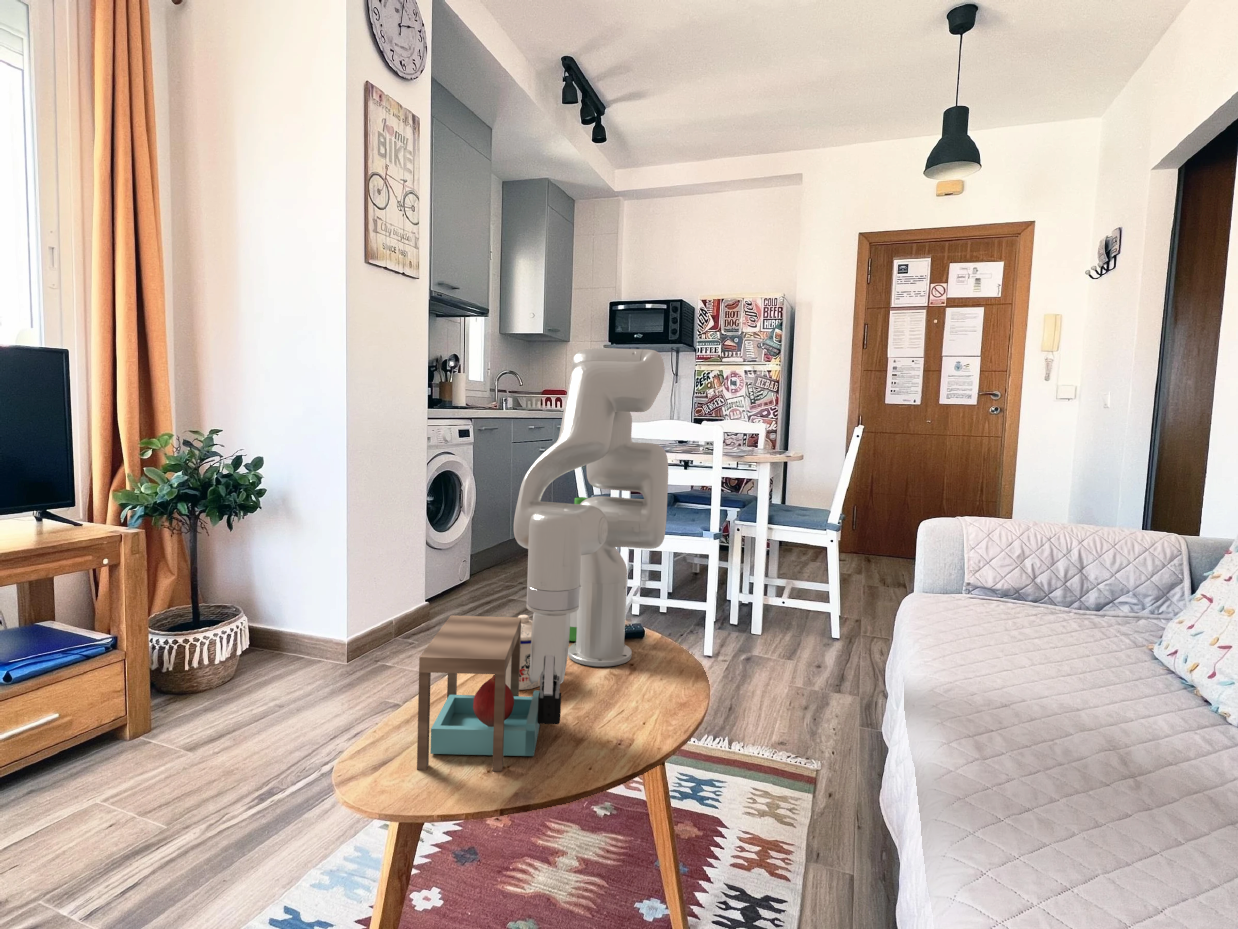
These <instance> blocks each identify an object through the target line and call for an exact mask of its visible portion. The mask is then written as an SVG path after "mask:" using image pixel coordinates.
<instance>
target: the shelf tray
mask: <svg viewBox="0 0 1238 929" xmlns="http://www.w3.org/2000/svg"><path fill="white" fill-rule="evenodd" d="M539 692H540V690H537V689H536V690H535V689H534V690H533V692H532V693H533V694H532V696H520V695H519V696H514V706H513V710H512V713H511V714H510V716H509V717H508V718H507V719H506V720H505V721H504V748H503V756H513V757H514V756H517V757H520V756H521V757H534V756H535V752H536V747H537V740H538V738H539V737H538V736H539V732H540V726H541V724H539V723H538V696H539ZM474 697H475V694H474V695H473V694H471V695H470V694H457V695H449V697H448V698H447V697H446V701H445V702H444V704H443V705H442V708H441V709H440V712H439V713H438V715H437V717H436V719H435V720H434V722H433V724H432V726H431V728H430V752H429V755H430V754H432V755H434V754H435V755H469V756H470V755H472V756H473V755H475V756H476V755H477V756H493V734H494V727H488V726H487V725H485V724H484V723H482V722H481V721H480V720H479V719H478V718H477V716H476V715H475V713H474V709H473V702H474Z"/></svg>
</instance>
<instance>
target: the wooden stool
mask: <svg viewBox="0 0 1238 929" xmlns="http://www.w3.org/2000/svg"><path fill="white" fill-rule="evenodd" d="M520 643H521V618H518V616H517V617H514V616H513V617H511V616H509V617H507V616H484V615H483V616H480V615H479V616H477V615H475V616H474V615H450V616H449V617H448V619H446V621H445V623H444V624H443V625H442V627H440V629H439V631H437V633H436V634H435V636H434V637H433V638H432V640H431V641H430V642H429V644H428V645H427V646H426V648H425V649H424V650H423V652H422V653H421V654H420V656H419V657H418V699H417V700H418V703H417V708H418V709H417V741H416V742H417V746H416V747H417V750H416V751H417V752H416V758H417V759H416V770H418V769H419V770H421V771H424V770H426V771H427V770H428V767H429V762H430V761H429V760H430V724H431V722H430V720H431V718H430V715H431V714H430V713H431V712H430V711H431V679H432V678H431V676H432V675H431V674H432V673H435V674H436V673H437V674H447V681H446V682H447V686H446V687H447V688H446V690H447V692H446V694H447V695H446V696H447V697H446V699H447V698H448V697H449V695H458V694H457V691H458V689H457V685H458V674H464V675H465V674H470V675H472V674H473V675H495V700H494V734H493V755H492V767H491V770H492V772H503V767H504V755H503V748H504V716H505V683H506V669H507V667H508V664H509V661H510V658H511V689H510V690H511V691H512V693H513V696H520V690H519V674H520ZM511 656H512V657H511Z"/></svg>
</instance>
